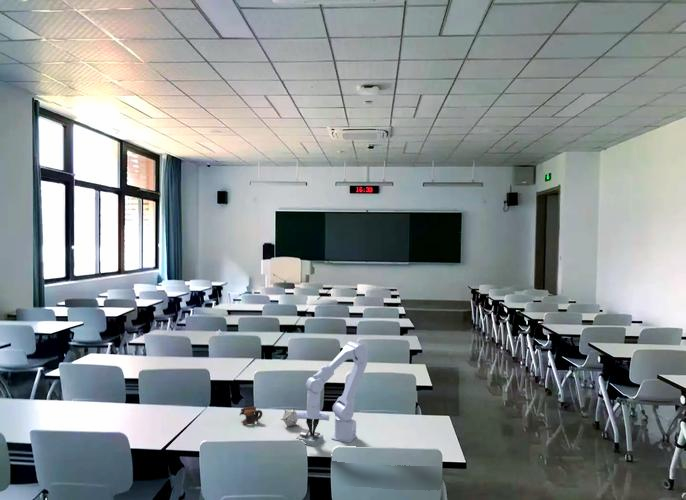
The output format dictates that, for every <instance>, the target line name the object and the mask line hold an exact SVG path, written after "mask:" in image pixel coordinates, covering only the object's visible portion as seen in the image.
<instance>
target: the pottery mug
mask: <svg viewBox="0 0 686 500" xmlns="http://www.w3.org/2000/svg"><path fill="white" fill-rule="evenodd" d="M240 410H241V411H240V413H239V416H241V415H242V416H245V419H243V420H242V424H243V426H245V425H255V424H256V422H258V421H259V420H260V419H261V418H262V417H263V415H264V414H263V411H262V410H261V409H257V408H256V406H248V407H247V406H246V407H244V408H241V409H240Z"/></svg>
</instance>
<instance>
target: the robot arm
mask: <svg viewBox="0 0 686 500" xmlns="http://www.w3.org/2000/svg"><path fill="white" fill-rule="evenodd" d="M368 355H369V350H368V348H367V347H366V346H365V345H364V344H362V343H359V342H357V341H355V340H350V341H348V342H347V343H346V344H345V345H344V346H343V347H342V350H341V351H340V352H339V353H338V354H337V355H336V357H334V358H333V359H332V361H331V362H330V363H329V364H324V365H322V366H321V367H320V369H319V370H318V371H317V372H316V373H315V374H313V376H310V377H309V378H308V379H307V380H306V382H305V388H307V393H306V394H307V396H306V412H302V413H300V412H296V413H297V415H296V419H298V420H299V419H301V420H305V423H306V425H307V428H308V430H309V431H310V432H309V433H310V436H314V433H315V432H316V429H317V427H318V425H319V424H320V423H319V422H320V421H327V422H329V421H330V414H325V413H321V410H320V409H321V391H323V388H324V385H325V384H326V383H327V382H328V381H330V379H331V378H332V377H333V376H334V374H335V373H334V372H335V370H336V369H338V368H339V367H340V366H341V365H342V364H343V363H345V362H346V361H347V360H352V361H353V366H352V369H351V371H350V374H349V377H348V379H347V382H346V385H345V387H344V390H343V392H342V393H341V394H342V395H341V396H339V397H338V398H337V400H336V401H335V403H333V405H332V412H333V413H334V435H332V437H331V440H335V441H340V442H344V443H350V444H351V443H352V442H353V441H354V439H355V438H357V421H356V420H355V419H353V417H354V409H355V402H354V399H355V396H356V394H357V391H358V388H359V387H360V386H359V385H360V383H361V381H362V378H363V375H364V373H365V370H366V367H367V365H368Z"/></svg>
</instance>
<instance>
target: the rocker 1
mask: <svg viewBox="0 0 686 500" xmlns="http://www.w3.org/2000/svg"><path fill="white" fill-rule="evenodd" d="M308 433H310V431H309V429H306V428H303V429H302V431H301V432H300V433H299V435H300V436H303V437H306V436H307V435H308Z"/></svg>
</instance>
